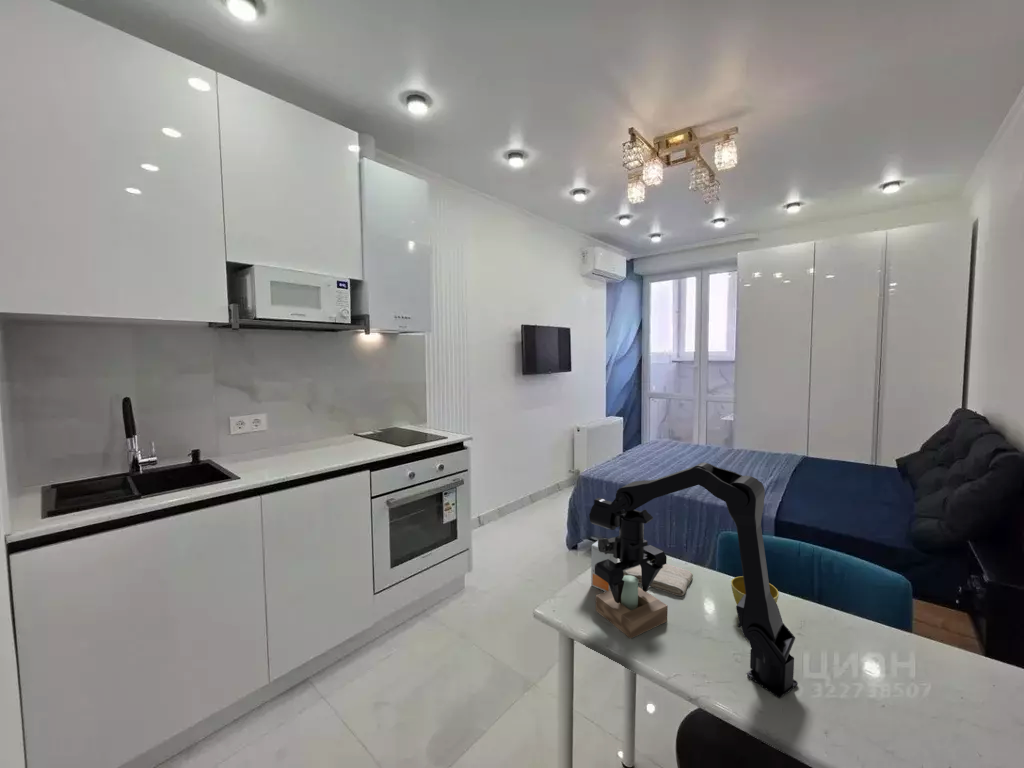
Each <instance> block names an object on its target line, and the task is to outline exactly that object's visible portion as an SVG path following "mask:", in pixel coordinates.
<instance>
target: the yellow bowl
mask: <svg viewBox="0 0 1024 768" xmlns="http://www.w3.org/2000/svg"><path fill="white" fill-rule="evenodd" d="M730 582H731V583H730V584H731V585H730V586H731V590H732V594H733V595H732V596H733V598H734V601H735V603H736V605H737V604H738V603H739V601H740V600H741V599H742V597H743V596H744V594H746V593H745V586H744V578H743V575H742V576H736V577H734V578H732V579H731V581H730ZM769 587H770V593H771V595H772V597H773V598H774V600H775V602H776V603H777V602H778V599H779V595H780V593H779V590H778V588H776V587H775V586H774V585H773V584H771V583H770V582H769ZM777 604H778V603H777Z"/></svg>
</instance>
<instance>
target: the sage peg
mask: <svg viewBox="0 0 1024 768" xmlns="http://www.w3.org/2000/svg"><path fill="white" fill-rule="evenodd" d="M622 580H623V581H624V586H623V590H622V594H621V604H622V605H624V606H625V607H626V608H628V609H629V610H634V609H636V608H638V587H639V583H638V579H637V578H636V577H634V576H630V575H625V576H624V577H623V579H622Z"/></svg>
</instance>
